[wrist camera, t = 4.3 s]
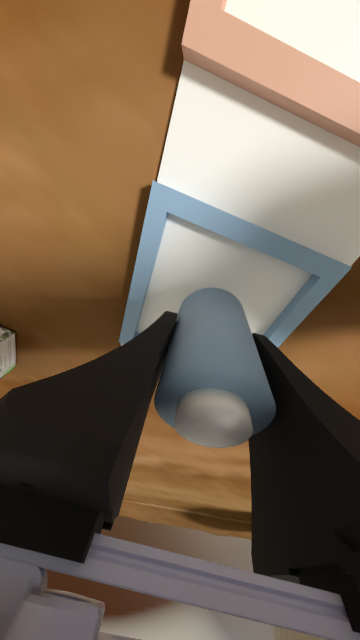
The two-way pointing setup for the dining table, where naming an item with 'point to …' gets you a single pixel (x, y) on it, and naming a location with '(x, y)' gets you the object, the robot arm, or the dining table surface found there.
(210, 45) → the region terracotta
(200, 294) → the blue cylinder
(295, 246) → the region blue
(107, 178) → the dining table surface
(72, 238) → the dining table surface
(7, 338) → the syrup box
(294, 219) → the sheet
